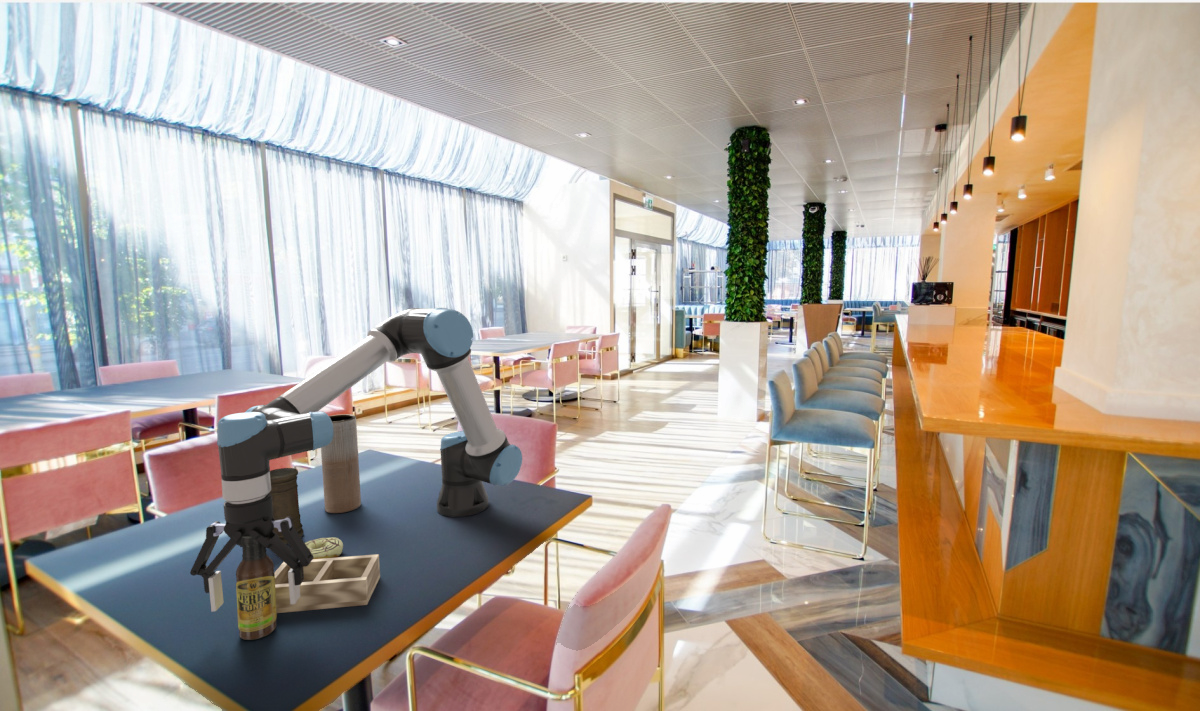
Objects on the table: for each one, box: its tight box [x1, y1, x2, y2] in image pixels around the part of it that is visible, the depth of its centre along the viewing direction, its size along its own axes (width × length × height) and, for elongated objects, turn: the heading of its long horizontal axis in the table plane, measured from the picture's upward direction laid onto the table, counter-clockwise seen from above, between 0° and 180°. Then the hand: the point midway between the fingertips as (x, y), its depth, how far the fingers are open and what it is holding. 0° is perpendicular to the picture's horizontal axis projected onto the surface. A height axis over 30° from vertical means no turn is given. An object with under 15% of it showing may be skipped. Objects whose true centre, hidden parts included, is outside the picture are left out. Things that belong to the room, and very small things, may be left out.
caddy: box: [274, 553, 381, 614], centre depth 114 cm, size 20×11×6 cm, turn 99°
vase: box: [320, 413, 362, 514], centre depth 159 cm, size 10×10×28 cm
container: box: [268, 467, 305, 545], centre depth 140 cm, size 9×9×18 cm
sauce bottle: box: [235, 536, 278, 641], centre depth 100 cm, size 6×6×20 cm
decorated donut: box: [304, 536, 344, 559], centre depth 130 cm, size 10×11×4 cm
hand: (256, 603), depth 101 cm, fingers open, 13 cm apart
